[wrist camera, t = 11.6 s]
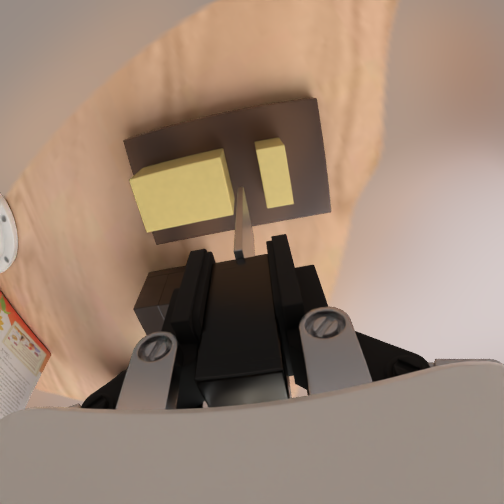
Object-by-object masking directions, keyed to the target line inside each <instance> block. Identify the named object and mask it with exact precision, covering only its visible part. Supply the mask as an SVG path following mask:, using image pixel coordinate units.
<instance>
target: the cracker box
mask: <svg viewBox="0 0 504 504" xmlns="http://www.w3.org/2000/svg"><path fill="white" fill-rule="evenodd" d="M50 356H51V353H50V352H49V351H48V350H47V349H46V348H45V346H44V345H43V344H42V343H41V342H40V341H39V340H38V338H37V337H36V336H35V335H34V334H33V333H32V331H31V330H30V329H29V328H28V327H27V325H26V324H25V323H24V322H23V320H22V319H21V318H20V317H19V315H18V314H17V313H16V312H15V310H14V309H13V308H12V306H11V305H10V304H9V302H8V301H7V300H6V298H5V297H4V295H3V294H2V293H1V291H0V420H1V419H2V418H3V417H5V416H7V415H8V414H11V413H13V412H16V411H19V410H23V409H25V407H26V405H27V403H28V401H29V398H30V396H31V394H32V392H33V390H34V388H35V386H36V384H37V382H38V380H39V378H40V376H41V374H42V372H43V370H44V368H45V366H46V364H47V362H48V360H49V358H50Z"/></svg>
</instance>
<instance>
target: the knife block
mask: <svg viewBox="0 0 504 504" xmlns="http://www.w3.org/2000/svg"><path fill="white" fill-rule="evenodd" d="M185 268H186V266H183V267H177V268H172V269H166V270H160V271H155V272H149V274H148V276H147V278H146V281H145V283H144V285H143V288H142V290H141V292H140V294H139V297H138V299H137V301H136V304H135V306H134V311H135V313H136V315H137V317H138V319H139V321H140V323H141V325H142V327H143V329H144V331H145V333H146V335H149V334H151V333H155V332H161V330H162V326H163V323H164V320H165V316H166V313H167V309H168V306H169V303H170V299H171V296H172V293H173V290H174V289H175V288H180V285H181V282H182V278H183V275H184V271H185Z"/></svg>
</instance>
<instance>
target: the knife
mask: <svg viewBox="0 0 504 504" xmlns="http://www.w3.org/2000/svg"><path fill="white" fill-rule="evenodd" d="M234 254H235V258H236V260H230V261H224V262H219V263H213V264H212V267H211V273H210V280H209V286H208V292H207V298H206V305H205V311H204V318H203V324H202V329H201V335H200V342H199V349H198V356H197V363H196V370H195V377H194V381H195V383H196V385H197V387H198V389H199V391H200V393H201V395H202V396H203V398H204V400H205V402H206V404H207V405H208V407H209V408H210V407H223V406H234V405H244V404H253V403H261V402H269V401H276V400H283V399H290V398H292V397H291V389H290V381H289V374H288V368H287V363H286V358H285V352H284V347H283V342H282V336H281V331H280V326H279V320H278V318H276V313H275V307H274V300H273V292H272V284H271V276H270V268H269V260H268V254H264V255H258V256H255V249H254V234H253V230H252V225H251V220H250V216H249V211H248V206H247V202H246V197H245V192H244V188H243V187H238V193H237V208H236V223H235V239H234Z"/></svg>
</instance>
